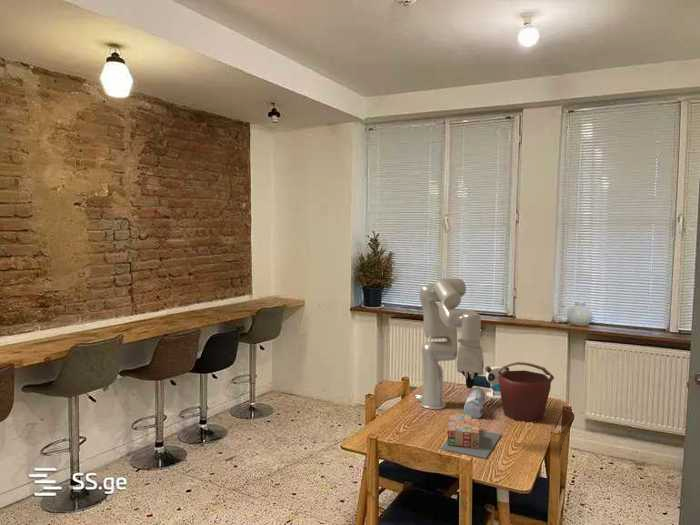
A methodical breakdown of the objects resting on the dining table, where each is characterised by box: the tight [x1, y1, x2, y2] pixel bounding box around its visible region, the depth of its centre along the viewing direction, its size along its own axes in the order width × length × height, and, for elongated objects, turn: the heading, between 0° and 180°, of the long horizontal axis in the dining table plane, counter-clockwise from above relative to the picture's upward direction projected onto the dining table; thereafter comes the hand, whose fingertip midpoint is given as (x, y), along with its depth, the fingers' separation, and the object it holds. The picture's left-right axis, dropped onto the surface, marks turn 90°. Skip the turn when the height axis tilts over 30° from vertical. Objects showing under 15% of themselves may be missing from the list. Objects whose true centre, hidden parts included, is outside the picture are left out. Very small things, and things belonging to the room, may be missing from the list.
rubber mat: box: [439, 429, 502, 460], centre depth 212 cm, size 18×26×1 cm
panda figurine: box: [484, 365, 510, 399], centre depth 273 cm, size 12×11×15 cm
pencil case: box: [463, 386, 486, 419], centre depth 248 cm, size 21×9×10 cm, turn 163°
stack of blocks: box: [447, 412, 480, 448], centre depth 216 cm, size 21×6×12 cm
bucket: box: [498, 361, 555, 423], centre depth 241 cm, size 24×22×25 cm
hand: (469, 387), depth 213 cm, fingers closed
